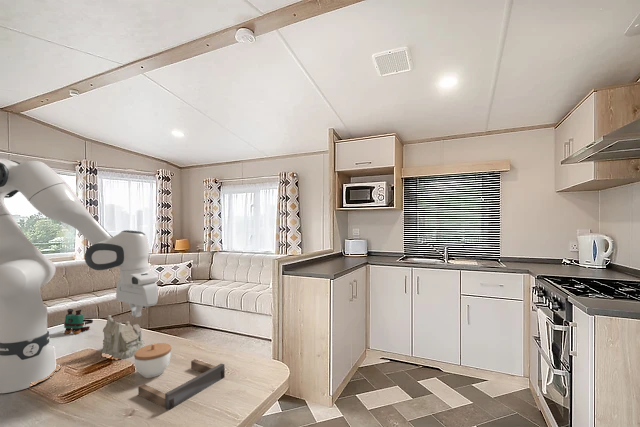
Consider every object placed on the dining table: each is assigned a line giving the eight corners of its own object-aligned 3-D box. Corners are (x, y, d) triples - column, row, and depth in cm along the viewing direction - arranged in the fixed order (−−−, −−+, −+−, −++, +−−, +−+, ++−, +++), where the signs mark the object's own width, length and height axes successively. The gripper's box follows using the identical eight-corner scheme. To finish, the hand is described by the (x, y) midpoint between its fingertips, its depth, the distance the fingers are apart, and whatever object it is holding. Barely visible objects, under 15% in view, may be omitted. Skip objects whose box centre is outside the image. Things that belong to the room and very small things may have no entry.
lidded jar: (155, 383, 94) (155, 352, 94) (126, 380, 96) (125, 350, 96) (178, 366, 104) (178, 339, 105) (151, 364, 107) (151, 337, 107)
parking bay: (138, 394, 88) (138, 381, 88) (195, 366, 104) (194, 354, 104) (168, 410, 80) (168, 394, 80) (224, 377, 97) (224, 364, 97)
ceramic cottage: (116, 362, 108) (117, 319, 109) (92, 355, 116) (94, 314, 117) (158, 348, 121) (159, 310, 123) (134, 342, 130) (135, 306, 131)
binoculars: (97, 306, 146) (77, 310, 136) (95, 329, 145) (75, 335, 135) (81, 306, 147) (60, 310, 138) (79, 328, 146) (58, 334, 136)
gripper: (110, 276, 109) (111, 314, 109) (142, 280, 98) (143, 323, 98) (128, 272, 114) (130, 309, 114) (160, 276, 104) (162, 317, 104)
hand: (136, 316), depth 106 cm, fingers closed
